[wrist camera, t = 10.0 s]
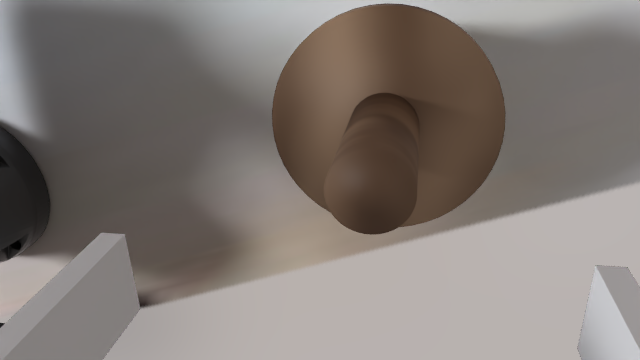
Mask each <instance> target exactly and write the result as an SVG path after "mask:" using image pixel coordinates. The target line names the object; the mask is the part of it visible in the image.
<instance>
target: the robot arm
mask: <svg viewBox="0 0 640 360" xmlns="http://www.w3.org/2000/svg"><path fill="white" fill-rule="evenodd" d="M48 218H49V196H48V191H47V188H46V184H45V182H44V179H43V177H42V174H41V172H40V170H39V168H38V167H37V165H36V163H35V162H34V160H33V159H32V157H31V156H30V155H29V153H28V152H27V151H26V150H25V148H24V147H23V146H22V145H21V144H20V143H19V142H18V141H17V140H16V139H15V138H14V137H13V136H11V135H10V134H9V133H8V132H7V131H5V130H4V129H2V128H1V127H0V263H1V262H4V261H7V260H9V259H11V258H13V257H15V256H17V255H19V254H20V253H21V252H23V251H24V250H25V249H26V248H28V247H29V246H30V245H32V244H33V243H34V242H35V241H36V240H37V239H38V238H39V237H40V236H41V235H42V233H43V232H44V230H45V228H46V225H47V222H48ZM139 310H140V305H139V300H138V295H137V291H136V286H135V281H134V276H133V271H132V266H131V262H130V257H129V252H128V247H127V242H126V238H125V234H114V233H100V234H99V235H98V236H97V237H96V238H95V239H94V240H93V241H92V242H91V243H90V244H89V245H88V246H87V247H86V248H84V249H83V250H82V251H81V252H80V253H79V254H78V255H77V256H76V257H75V258H74V259H73V260H72V261H71V262H70V263H69V264H68V265H66V266H65V267H64V268H63V269H62V270H61V271H60V272H59V273H58V274H57V275H56V276H55V277H54V278H53V279H52V280H51V281H50V282H48V283H47V284H46V285H45V286H44V287H43V288H42V289H41V290H40V291H39V292H38V293H37V294H36V295H35V296H34V297H33V298H32V299H30V300H29V301H28V302H27V303H26V304H25V305H24V306H23V307H22V308H21V309H20V310H19V311H18V312H17V313H16V314H15V315H14V316H12V317H11V319H9V320H8V322H6V323H0V360H103V359H104V357H105V356H106V355H107V353H108V352H109V350H110V349H111V348H112V346H113V345H114V344H115V342H116V341H117V340H118V338H119V337H120V336H121V334H122V333H123V332H124V330H125V329H126V328H127V326H128V325H129V323H130V322H131V321H132V320H133V318H134V317H135V316H136V314H137V313H138V311H139ZM578 351H579V354H580V357H581V359H582V360H640V287H639V285H638V284H637V282H636V280H635V279H634V277H633V276H632V274H631V272H630V271H629V269H628V267H615V266H599V265H596V266H595V270H594V275H593V279H592V284H591V288H590V293H589V297H588V302H587V307H586V311H585V316H584V320H583V325H582V329H581V334H580V339H579V343H578Z"/></svg>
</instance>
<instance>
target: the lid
mask: <svg viewBox="0 0 640 360" xmlns="http://www.w3.org/2000/svg"><path fill="white" fill-rule="evenodd" d="M272 125H273V132H274V138H275V142H276V145H277V149H278V152H279V155H280V157H281V159H282V161H283V164H284V166H285V167H286V169H287V171H288V172H289V174H290V176H291V177H292V179H293V180H294V181H295V182H296V184H297V185H298V186H299V187H300V188H301V189H302V191H303V192H304V193H305V194H306V195H307V196H308V197H310V198H311V199H312V200H313V201H315V202H316V203H317V204H318V205H320V206H321V207H323V208H324V209H326V210H328V211H329V212H331V213H332V215H333V216H334V217H335V218H336V219H337V220H338V221H339V222H340V223H341V224H342V225H344V226H345V227H347V228H349V229H351V230H353V231H356V232H359V233H364V234H382V233H386V232H389V231H392V230H394V229H396V228H398V227H404V226H412V225H416V224H420V223H424V222H427V221H430V220H433V219H435V218H438V217H440V216H442V215H444V214H446V213H448V212H450V211H452V210H453V209H455V208H456V207H458V206H459V205H460V204H462V203H463V202H464V201H466V200H467V199H468V198H469V197H470V196H471V195H472V194H473V193H474V192H475V191H476V190H477V189H478V188H479V187H480V186H481V184H482V183H483V182H484V181H485V179H486V178H487V176H488V175H489V173H490V171H491V170H492V168H493V166H494V164H495V162H496V160H497V158H498V155H499V152H500V149H501V145H502V142H503V136H504V130H505V106H504V98H503V94H502V90H501V87H500V83H499V80H498V78H497V76H496V74H495V71H494V69H493V67H492V65H491V63H490V61H489V60H488V58H487V56H486V55H485V53H484V52H483V50H482V49H481V48H480V46H479V45H478V44H477V43H476V42H475V41H474V39H473V38H472V37H471V36H469V35H468V34H467V33H466V32H465V31H464V30H463V29H462V28H460V27H459V26H457V25H456V24H454V23H453V22H451V21H450V20H448V19H447V18H445V17H443V16H441V15H438V14H436V13H434V12H432V11H429V10H426V9H423V8H419V7H415V6H409V5H404V4H376V5H368V6H364V7H360V8H355V9H352V10H350V11H347V12H345V13H342V14H340V15H338V16H336V17H334V18H332V19H330V20H329V21H327V22H325V23H324V24H323V25H321V26H320V27H319V28H317V29H316V30H315V31H313V32H312V33H311V34H310V35H309V36H308V37H307V38H306V39H305V40H304V41H303V42H302V43H301V44H300V45H299V46H298V47H297V49H296V50H295V51H294V53H293V54H292V55H291V56H290V58H289V60H288V61H287V63H286V65H285V67H284V68H283V70H282V73H281V75H280V78H279V80H278V83H277V86H276V90H275V94H274V99H273V108H272Z"/></svg>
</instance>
